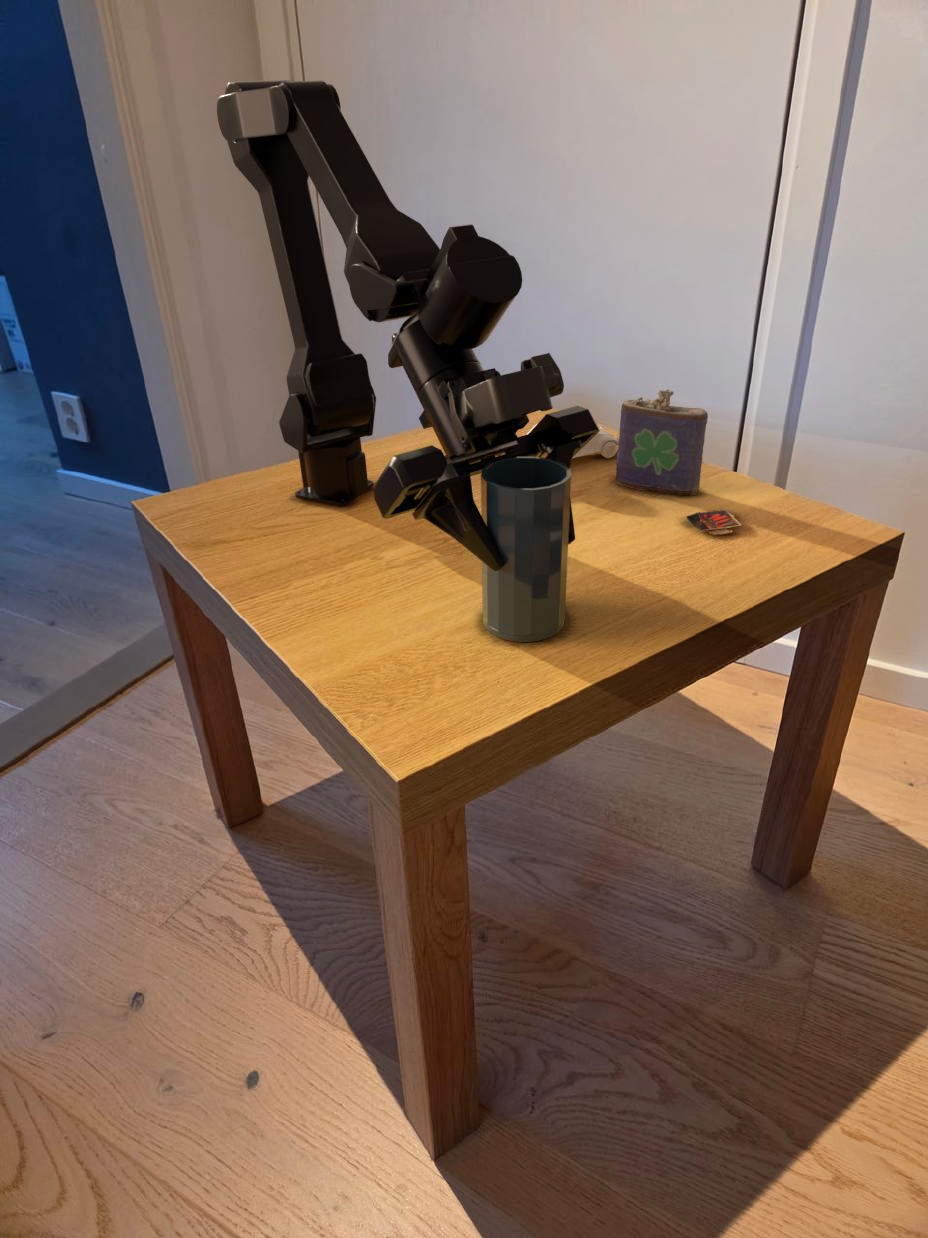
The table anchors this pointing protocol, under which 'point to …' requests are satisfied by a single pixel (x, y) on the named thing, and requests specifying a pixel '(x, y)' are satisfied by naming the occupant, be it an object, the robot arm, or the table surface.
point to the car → (599, 444)
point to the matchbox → (714, 521)
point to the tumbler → (526, 546)
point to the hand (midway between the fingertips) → (535, 555)
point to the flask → (660, 446)
